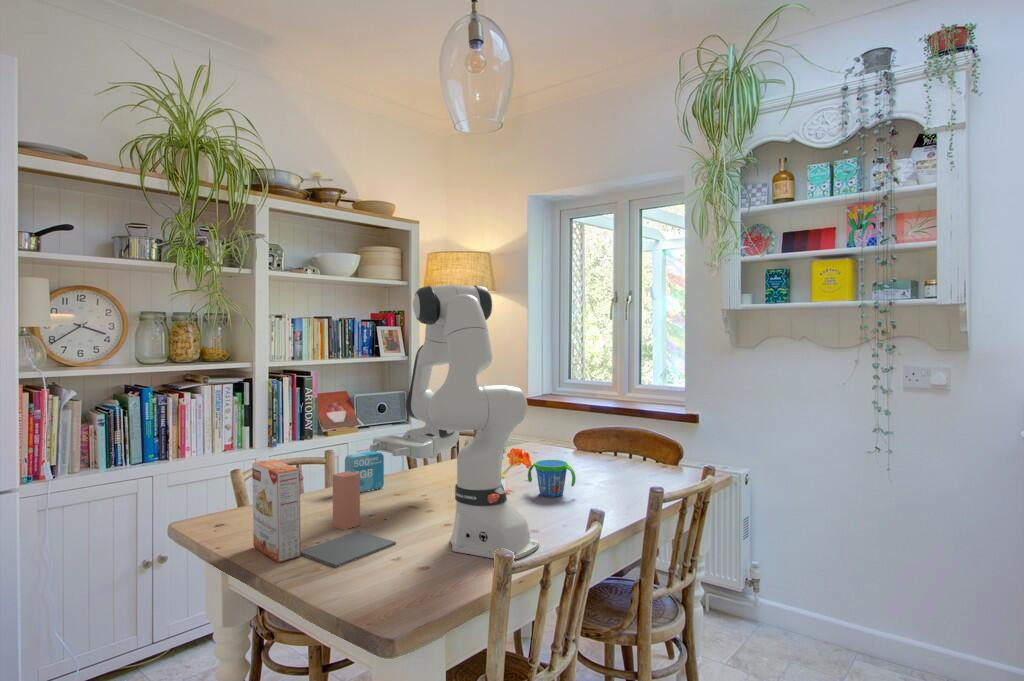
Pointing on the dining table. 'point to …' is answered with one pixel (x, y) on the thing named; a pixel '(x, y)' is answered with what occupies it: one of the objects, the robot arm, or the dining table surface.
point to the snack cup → (551, 476)
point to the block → (346, 500)
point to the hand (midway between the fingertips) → (382, 450)
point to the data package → (367, 469)
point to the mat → (346, 548)
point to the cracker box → (276, 509)
